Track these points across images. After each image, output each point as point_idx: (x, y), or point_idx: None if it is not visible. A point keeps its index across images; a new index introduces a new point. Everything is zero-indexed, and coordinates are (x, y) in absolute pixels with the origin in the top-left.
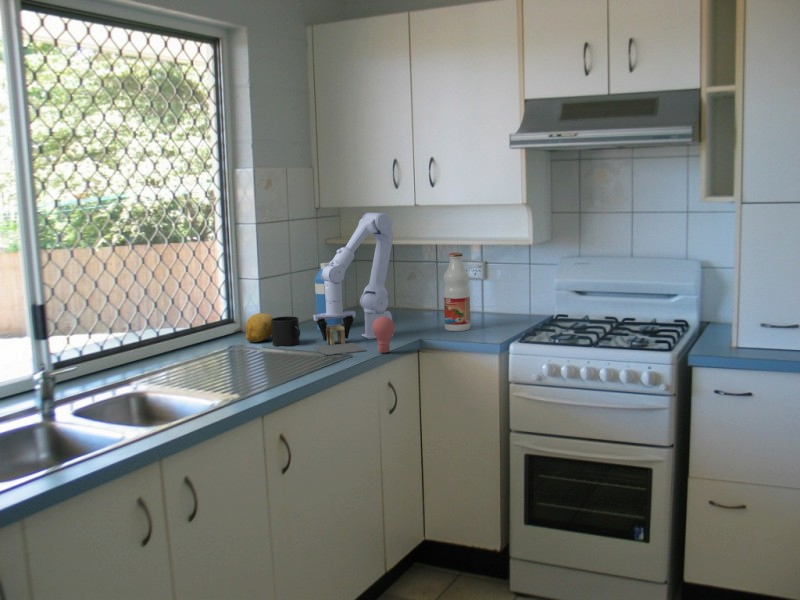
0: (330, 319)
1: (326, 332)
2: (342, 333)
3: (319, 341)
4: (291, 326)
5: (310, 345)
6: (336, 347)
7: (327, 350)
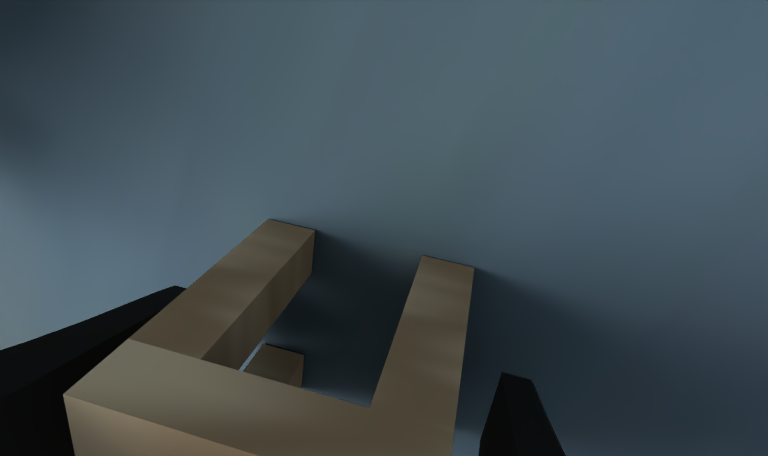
0: None
1: (174, 299)
2: None
3: (208, 27)
4: None
5: (52, 203)
6: None
7: None
